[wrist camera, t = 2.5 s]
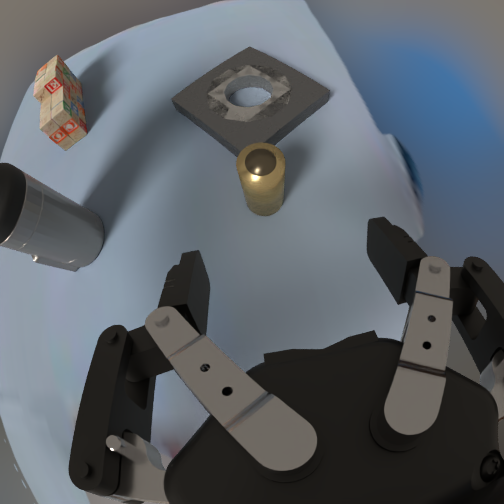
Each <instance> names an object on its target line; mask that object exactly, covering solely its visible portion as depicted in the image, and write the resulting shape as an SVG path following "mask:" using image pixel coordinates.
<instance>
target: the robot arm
mask: <svg viewBox="0 0 504 504" xmlns="http://www.w3.org/2000/svg"><path fill="white" fill-rule="evenodd" d="M103 240H104V227H103V224H102V221H101V219H100V218H99V217H98V215H96V214H95V213H93V212H92V211H90V210H88V209H86V208H84V207H82V206H81V205H79V204H77V203H76V202H74V201H72V200H70V199H69V198H67V197H65V196H63V195H62V194H60V193H58V192H57V191H55V190H53V189H51V188H50V187H48V186H46V185H45V184H43V183H41V182H40V181H38V180H36V179H35V178H33V177H31V176H30V175H28V174H26V173H25V172H23V171H21V170H20V169H18V168H16V167H15V166H13V165H11V164H9V163H0V246H2V247H6V248H9V249H12V250H16V251H20V252H23V253H26V254H30V255H31V256H32V258H33V260H34V261H35V262H36V263H40V264H44V265H48V266H52V267H56V268H61V269H65V270H70V271H74V272H75V271H76V270H77V269H78V268H80V267H85V266H87V265H89V264H90V263H91V262H93V261H94V260H95V258H96V257H97V256H98V254H99V252H100V250H101V247H102V244H103ZM367 254H368V257H369V259H370V261H371V262H372V264H373V265H374V267H375V268H376V270H377V272H378V273H379V275H380V276H381V278H382V279H383V281H384V283H385V284H386V286H387V287H388V289H389V291H390V292H391V294H392V296H393V297H394V299H395V301H396V302H397V304H398V305H399V304H402V303H406V302H407V303H408V305H409V310H408V314H407V318H406V322H405V326H404V330H403V333H402V337H401V340H400V341H397V340H394V339H388V338H378V337H377V335H376V333H375V331H374V330H373V331H370V332H366V333H362V334H358V335H354V336H350V337H348V338H346V339H344V340H342V341H339V342H337V343H335V344H333V345H331V346H329V347H327V348H324V349H290V350H284V351H278V352H272V353H266V354H264V361H265V362H264V363H261V364H259V365H257V366H255V367H253V368H251V369H250V370H248V371H247V372H246V373H245V372H244V371H243V370H241V369H240V368H239V367H238V366H237V365H236V364H235V363H234V362H233V361H232V360H231V359H230V358H229V357H227V356H226V355H225V354H224V353H223V352H222V351H221V350H220V349H219V348H218V347H217V346H216V345H215V344H214V343H213V342H212V341H211V340H210V339H209V338H208V337H207V336H206V331H207V318H208V307H209V296H210V282H209V278H208V274H207V272H206V269H205V266H204V263H203V260H202V257H201V254H200V252H199V250H196V251H191V252H186V253H183V254H182V256H181V260H180V264H179V265H174V266H173V267H172V268H171V270H170V271H169V272H168V274H167V277H166V280H165V281H166V282H165V284H164V289H163V291H162V294H161V298H160V301H159V305H158V308H157V309H156V310H154V311H153V312H151V313H150V314H149V316H148V317H147V319H146V321H145V325H144V326H142V327H139V328H136V329H134V330H131V331H127V330H126V328H125V327H124V326H122V325H113V326H111V327H109V328H107V329H106V330H104V331H103V332H102V334H101V335H100V337H99V339H98V342H97V345H96V348H95V351H94V355H93V358H92V361H91V365H90V368H89V372H88V375H87V379H86V383H85V386H84V390H83V394H82V398H81V403H80V407H79V411H78V416H77V421H76V425H75V431H74V436H73V442H72V448H71V454H70V461H69V476H70V479H71V481H72V482H73V484H74V485H75V486H76V487H78V488H79V489H81V490H84V491H87V492H90V493H93V494H96V495H99V496H102V497H105V498H109V499H112V500H115V501H119V502H123V503H127V504H142V503H144V502H145V501H146V502H153V503H165V504H504V460H503V458H502V456H501V454H500V451H499V444H498V422H499V421H501V420H502V419H504V283H503V282H502V280H501V279H500V278H499V277H498V276H497V274H496V273H495V272H494V271H493V270H492V268H491V267H490V266H489V265H488V264H487V263H486V262H485V261H484V260H482V259H480V258H478V257H468V258H466V259H465V261H464V264H463V267H450V266H449V265H448V263H447V262H446V261H444V260H443V259H441V258H439V257H434V256H427V254H426V253H425V252H424V251H423V250H422V249H421V248H420V247H419V246H418V245H417V243H416V242H414V240H413V239H412V238H411V237H409V235H408V234H407V233H406V232H405V231H404V230H403V229H401V228H400V227H398V226H396V225H392V224H391V223H390V222H389V221H388V220H387V219H386V218H385V217H378V218H372V219H369V221H368V231H367ZM478 300H479V301H480V302H481V304H482V305H483V307H484V308H485V309H486V313H487V319H486V320H485V319H484V317H483V316H482V314H481V313H480V311H479V310H478V308H477V307H476V304H477V302H478ZM451 321H453V322H454V324H455V326H456V327H457V329H458V331H459V333H460V334H461V336H462V338H463V340H464V342H465V344H466V346H467V348H468V350H469V352H470V354H471V355H472V357H473V360H474V362H475V363H476V366H477V368H478V370H479V372H480V374H481V376H480V384H478V383H476V382H474V381H472V380H470V379H469V378H467V377H465V376H463V375H461V374H460V373H458V372H456V371H454V370H452V369H450V368H449V367H447V366H446V361H447V354H448V348H449V340H450V331H451ZM173 369H174V370H175V372H176V373H177V374H178V376H179V377H180V378H181V379H182V381H183V382H184V383H185V385H186V386H187V387H188V388H189V390H190V391H191V392H192V393H193V395H194V396H195V397H196V398H197V399H198V401H199V402H200V403H201V404H202V406H203V407H204V408H205V409H206V410H207V412H208V413H209V414H210V416H209V417H208V418H207V420H206V421H205V422H204V423H203V424H202V426H201V427H200V428H199V429H198V430H197V432H196V433H195V434H194V435H193V436H192V438H191V439H190V440H189V441H188V442H187V443H186V445H185V446H184V447H183V448H182V449H181V450H180V451H179V453H178V454H177V455H176V456H175V457H174V458H173V459H172V461H171V462H170V463H169V465H168V467H167V469H166V470H165V469H164V467H163V465H162V461H161V455H160V453H159V451H158V449H157V448H156V447H155V446H153V445H152V444H150V440H151V425H152V412H153V401H154V390H155V381H156V375H159V374H162V373H165V372H168V371H170V370H173Z"/></svg>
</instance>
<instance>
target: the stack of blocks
mask: <svg viewBox="0 0 504 504" xmlns="http://www.w3.org/2000/svg"><path fill="white" fill-rule="evenodd" d="M33 96H34V97H35V98H36V99H37V100H38V101H39V102H40V103H41V112H40V130H41V131H43V132H44V133H45V134H46V135H47V136H49V138H50V139H51V140H52V141H54V142H55V143H56V144H58V145H59V146H60V147H61V148H63V149H64V150H65V151H66V150H67V149H69V148H70V147H71V146H72V145H74V144H75V143H76V142H78V141H79V140H80V139H82V138H83V137H84V136H85V135H87V128H86V120H85V112H84V107H83V99H82V86H81V82H80V81H79V80H78V79H77V78H76V77H75V75H74V74H73V73H72V72H71V71H70V69H69V68H68V67H67V65H66V64H65V63H64V62H63V61H62V59H61V58H60V57H59V56H58V55H56V56H55V57H54V58H53V59H51V60H50V61H49V62H48V63H47V64H45V65H44V66H43V67H42V68H41V69H39V71H37V76H36V79H35V85H34V94H33Z"/></svg>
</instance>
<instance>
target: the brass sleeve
mask: <svg viewBox="0 0 504 504" xmlns="http://www.w3.org/2000/svg"><path fill="white" fill-rule="evenodd" d="M236 167H237V171H238V174H239V178H240V181H241V185H242V188H243V192H244V195H245V199H246V202H247V205H248V207H249V209H250V210H251V211H252V212H253V213H255V214H257V215H260V216H270V215H272V214H274V213H276V212H277V211H278V210H279V209H280V208H281V206H282V204H283V196H284V179H285V158H284V155H283V153H282V152H281V151H280V149H278V148H277V147H276V146H274V145H272V144H269V143H254V144H251V145H249V146H247V147H245V148H244V149H243V150H242V151H241V152H240V154H239V155H238V157H237V161H236Z"/></svg>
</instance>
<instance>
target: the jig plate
mask: <svg viewBox="0 0 504 504" xmlns="http://www.w3.org/2000/svg"><path fill="white" fill-rule="evenodd" d="M247 87H257V88H263V89H264V90H266V91H267V92H269V93H271V98H270V99H268V100H267V101H265V102H264V103H263V104H261V105H257V106H253V107H240V106H235V105H233V104H232V103H230V102H229V101H228V100H229V98H230V96H231V95H232V94H233V93H235V92H236V91H238V90H239V89H243V88H247ZM329 92H330V90H328V89H327V88H325V87H323V86H322V85H320V84H319V83H317V82H315V81H314V80H312V79H310V78H309V77H307V76H305V75H304V74H302V73H300V72H298V71H297V70H295V69H293V68H291V67H289V66H288V65H286V64H284V63H282V62H280V61H278V60H276V59H274V58H272V57H270V56H268V55H266V54H264V53H262V52H260V51H258V50H256V49H254V48H251V47H248V48H246V49H245V50H243V51H241V52H239V53H238V54H236V55H234V56H233V57H231V58H229V59H228V60H226V61H225V62H223V63H221V64H220V65H218V66H217V67H215V68H214V69H212V70H211V71H209V72H208V73H206V74H205V75H203V76H202V77H200V78H199V79H197V80H196V81H195V82H193V83H192V84H190V85H189V86H188V87H186V88H185V89H184V90H182V91H181V92H180V93H178V94H177V95H176V96H174V97H173V98H172V99H171V100H172V102H173V104H174V106H175V108H176V110H178V111H179V112H180V113H182V114H183V115H184V116H186V117H187V118H188V119H190V120H191V121H192V122H194V123H195V124H196V125H198V126H199V127H200V128H201V129H203V130H204V131H205V132H207V133H208V134H209V135H210V136H212V137H213V138H214V139H216V140H217V141H218V142H219V143H221V144H222V145H223V146H224V147H226V148H227V149H228V150H229V151H231V152H232V153H233V154H234V155H235V156H237V157H238V155H239V154H240V152H241V151H242V150H243V149H244V148H245V147H247V146H249V145H251V144H254V143H269V144H272V145H275V144H276V143H278V142H279V141H280V140H281V139H282V138H284V137H285V136H286V135H287V134H288V133H290V132H291V131H292V130H293V129H294V128H296V127H297V126H298V125H299V124H301V123H302V122H303V121H304V120H306V119H307V118H308V117H309V116H311V115H312V114H313V113H314V112H316V111H317V110H318V109H319V108H321V107H322V106H323V105H324V104H326V103H327V102H328V97H329Z"/></svg>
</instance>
